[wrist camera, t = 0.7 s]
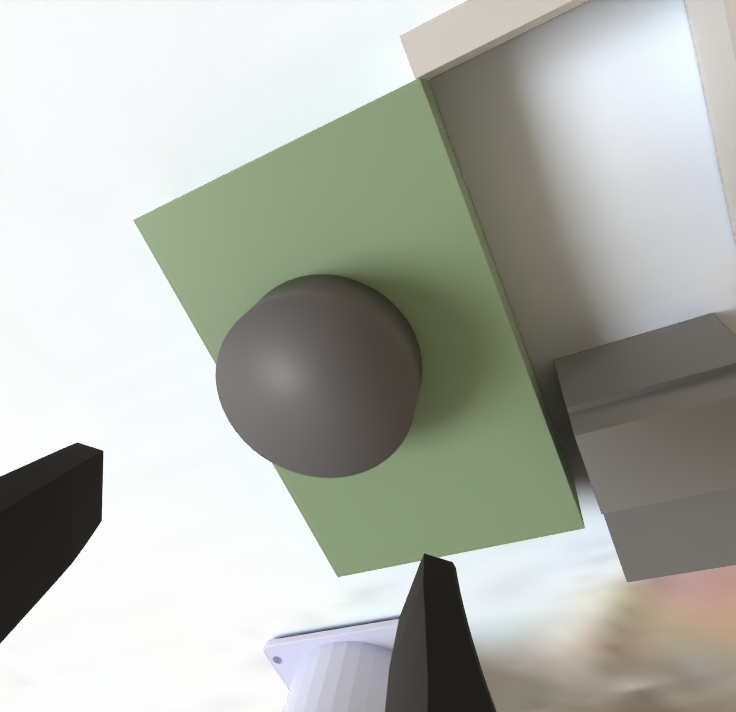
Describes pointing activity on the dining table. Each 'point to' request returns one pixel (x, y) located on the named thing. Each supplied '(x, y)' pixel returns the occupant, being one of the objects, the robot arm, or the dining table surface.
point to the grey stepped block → (660, 443)
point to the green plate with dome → (391, 313)
